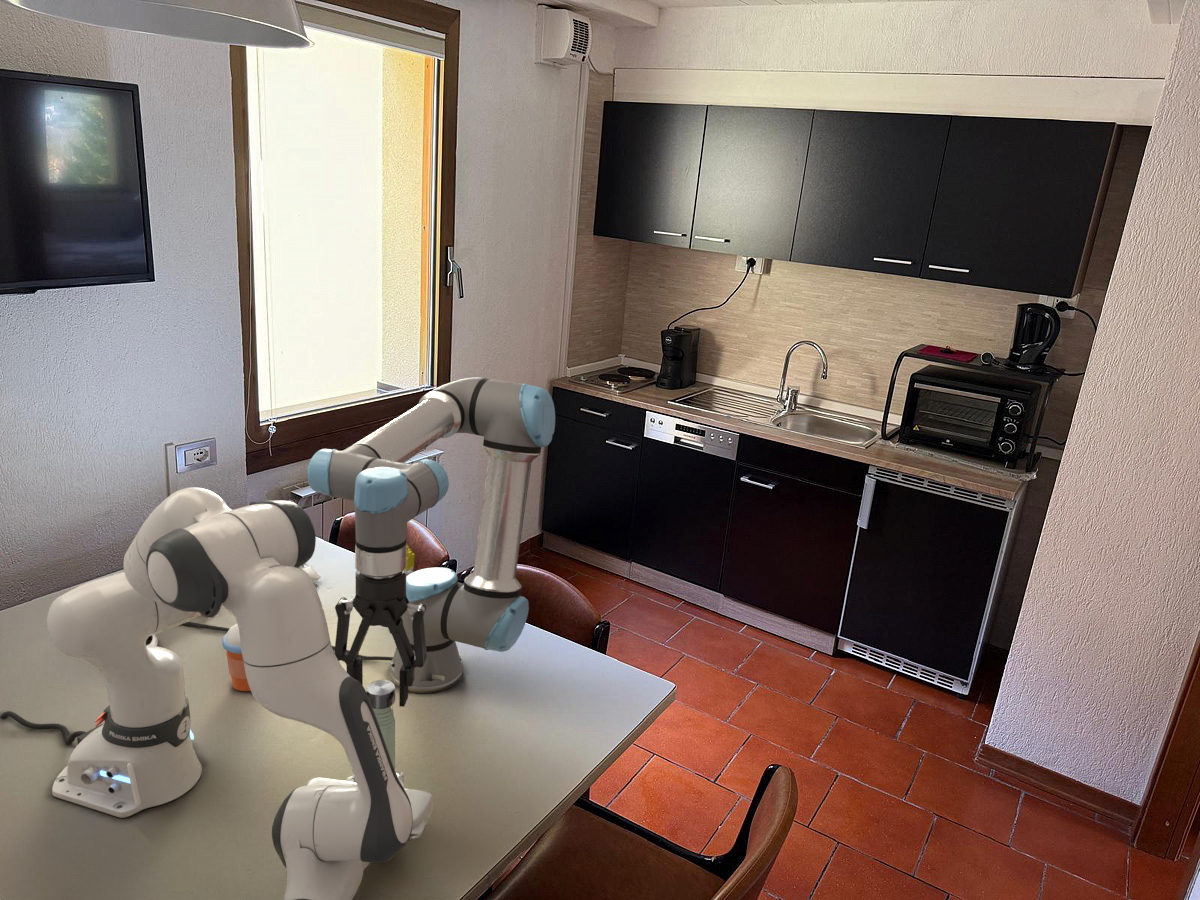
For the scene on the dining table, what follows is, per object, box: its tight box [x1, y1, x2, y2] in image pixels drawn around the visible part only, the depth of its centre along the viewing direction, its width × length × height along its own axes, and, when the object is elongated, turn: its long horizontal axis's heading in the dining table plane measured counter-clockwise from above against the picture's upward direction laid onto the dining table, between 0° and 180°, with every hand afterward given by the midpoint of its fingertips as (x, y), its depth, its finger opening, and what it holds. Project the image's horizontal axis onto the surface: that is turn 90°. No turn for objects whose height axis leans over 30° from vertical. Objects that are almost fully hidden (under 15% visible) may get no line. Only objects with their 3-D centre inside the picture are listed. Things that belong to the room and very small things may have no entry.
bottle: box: [373, 705, 396, 770], centre depth 139 cm, size 4×4×23 cm
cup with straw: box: [221, 622, 251, 692], centre depth 171 cm, size 9×9×18 cm
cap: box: [366, 679, 396, 709], centre depth 136 cm, size 4×4×3 cm
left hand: (382, 773), depth 142 cm, fingers closed on bottle, 4 cm apart
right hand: (380, 699), depth 137 cm, fingers open, 7 cm apart
